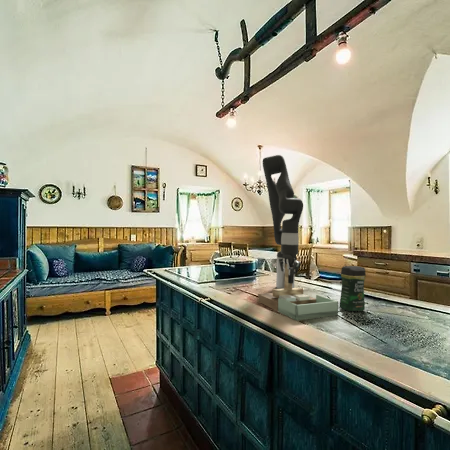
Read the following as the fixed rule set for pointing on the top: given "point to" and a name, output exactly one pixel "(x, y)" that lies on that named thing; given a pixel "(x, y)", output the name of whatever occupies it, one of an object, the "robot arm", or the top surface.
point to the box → (309, 308)
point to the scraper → (287, 287)
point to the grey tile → (288, 297)
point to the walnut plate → (273, 302)
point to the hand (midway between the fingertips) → (288, 282)
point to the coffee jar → (352, 288)
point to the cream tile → (301, 297)
